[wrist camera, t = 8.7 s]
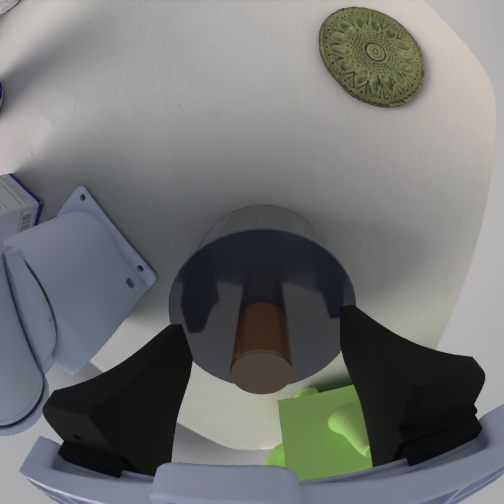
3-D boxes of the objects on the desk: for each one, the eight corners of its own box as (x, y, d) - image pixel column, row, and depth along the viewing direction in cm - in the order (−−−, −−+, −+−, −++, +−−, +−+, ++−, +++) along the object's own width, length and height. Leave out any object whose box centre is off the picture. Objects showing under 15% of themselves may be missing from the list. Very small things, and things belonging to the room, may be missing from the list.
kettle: (230, 421, 24) (228, 521, 14) (325, 328, 20) (374, 458, 10) (336, 446, 28) (354, 520, 17) (424, 375, 23) (469, 454, 13)
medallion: (310, 3, 13) (312, -2, 12) (411, 19, 13) (415, 16, 12) (323, 102, 16) (326, 101, 15) (427, 113, 15) (433, 112, 15)
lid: (378, 320, 14) (410, 376, 10) (249, 394, 16) (244, 454, 12) (281, 181, 12) (291, 196, 8) (141, 293, 14) (101, 345, 10)
